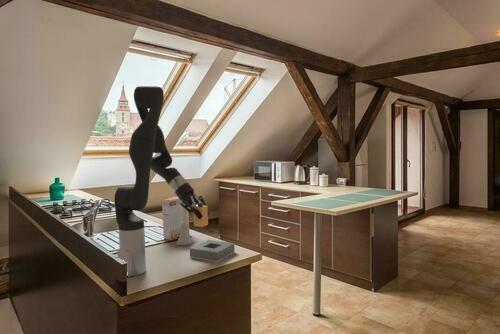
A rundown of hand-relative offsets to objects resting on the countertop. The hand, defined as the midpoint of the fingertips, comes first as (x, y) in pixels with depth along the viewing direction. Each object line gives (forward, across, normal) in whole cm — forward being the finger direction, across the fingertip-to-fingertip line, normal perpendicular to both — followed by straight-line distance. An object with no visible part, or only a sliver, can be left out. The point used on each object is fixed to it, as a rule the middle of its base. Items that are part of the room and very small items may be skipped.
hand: (204, 216), depth 147 cm
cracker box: (-10, +18, +34) cm, 40 cm away
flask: (-1, +10, +26) cm, 27 cm away
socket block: (+14, +1, +10) cm, 17 cm away
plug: (+1, 0, +4) cm, 5 cm away
